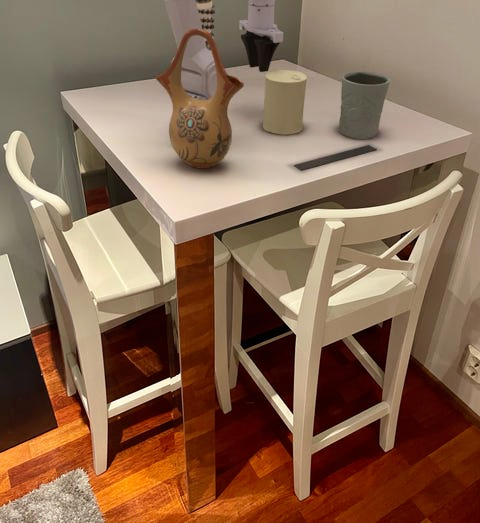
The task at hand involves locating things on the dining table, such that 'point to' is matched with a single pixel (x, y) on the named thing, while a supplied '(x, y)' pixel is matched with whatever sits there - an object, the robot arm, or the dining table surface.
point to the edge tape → (334, 157)
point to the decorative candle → (206, 17)
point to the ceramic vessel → (199, 111)
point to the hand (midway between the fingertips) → (258, 69)
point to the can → (284, 101)
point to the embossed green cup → (362, 103)
